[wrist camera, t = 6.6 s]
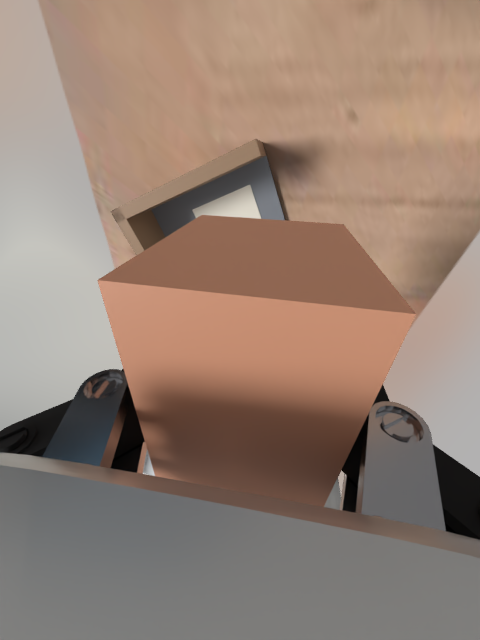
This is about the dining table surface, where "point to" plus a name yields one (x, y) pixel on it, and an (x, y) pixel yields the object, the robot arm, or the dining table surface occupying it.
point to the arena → (203, 197)
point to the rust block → (254, 351)
